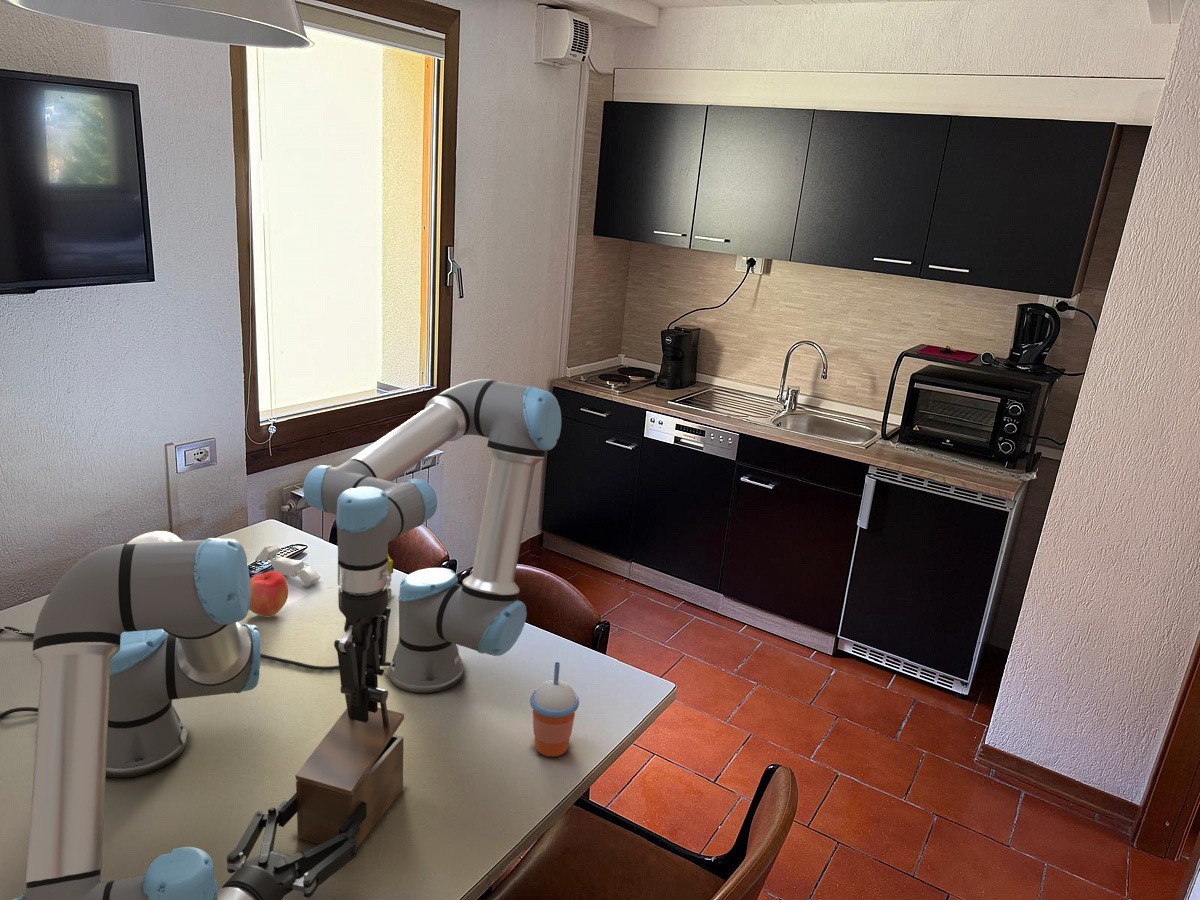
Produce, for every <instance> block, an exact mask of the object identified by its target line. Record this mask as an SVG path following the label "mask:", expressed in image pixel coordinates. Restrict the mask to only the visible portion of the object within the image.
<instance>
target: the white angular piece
mask: <svg viewBox="0 0 1200 900" xmlns="http://www.w3.org/2000/svg"><path fill="white" fill-rule="evenodd" d="M280 549H281V547H279V546H278V545H277V544H272V545H266V546H264V547H263V549H262V550H261V551H260V552H259V554H258V555H257V556H256V557H255V559H254V562H255V563H256V561H259V560H262V561H268V560H271V562H270V563H269V564H271V565H272V566H273V568H274V571H275V572H278V573H281V574H282V575H283V576H288V577H292V578H296V577H298V578H299V579H300V580H301V582H303V584H304V585H305V587H309V586H312V585H314V584H316V583H318V582H319V580H320V579H321V578H322V577H321V575H320V574H319V573H318V572H317V570H315V569H314V568H313V566H312V565H310V564H309V565H308V564H307V563H305V562H304V561H303V560H301V559H300V560H299V559H292V558H289V557H285V556H278V553H279V551H280ZM273 558H274V559H273ZM272 559H273V560H272ZM305 566H306V567H305ZM270 571H271V570H270Z"/></svg>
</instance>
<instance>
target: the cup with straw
mask: <svg viewBox="0 0 1200 900" xmlns="http://www.w3.org/2000/svg"><path fill="white" fill-rule="evenodd" d="M560 666H561V663H560V662H559V661H555V662H554V669H553V670H554V671H553V679H549V680H546V681H544V682H542V683H541V684H540V685H539V686H538V687H537V688H536V689H535V690H533V692H532V693H531V694H530V698H529V703H530V707H531V708H532V709H533V710H532V724H533V727H532V728H533V735H534V747H535V750H536V751H537V752H538V753H539V754H541V755H542V756H547V757H558V756H561V755H564V753H565V752H567V750H568V747H569V742H570V738H571V736H572V733H573V727H574V722H575V721H574V720H575V716H576V713H575V712H576V711H577V710H578V708H579V705H580V698H579V696H578V694H577V693H576V691H574V689H573V687H572V686H571V685H570V684H569V683H568V682H566V681H563V680H562V679H561V680H560V679H559V678H560Z"/></svg>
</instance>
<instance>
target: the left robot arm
mask: <svg viewBox="0 0 1200 900" xmlns="http://www.w3.org/2000/svg"><path fill="white" fill-rule="evenodd" d="M250 579H251V576H250V569H249V565H248V557H247V553H246V551H245V548H244V547H243V545H242V544H241V543H240V542H239V541H238V540H237V539H234V538H219V537H208V538H205V539H198V540H197V539H196V540H182V541H176V542H158V543H140V544H127V543H119V544H118V543H117V544H111V545H108V546H107V545H106V546H103V547H101V548H98V549H96V550H94V551H92V552H90V553H88V554H87V555H86V556H84V557H83V558H81V559H79V560H78V561H76V562H75V564H73V566H71V567H70V568H69V569H68V570H67V571H66V572H64V574H63V575H62V577H61V578H60V579H59V580H58V581H57V583H56V584H55V586H54V587H53V588H52V590H51V591H50V593H49V594H48V596H47V598H46V600H45V601H44V604H43V605H42V607H41V610H40V612H39V615H38V617H37V621H36V623H35V628H34V632H33V633H34V637H33V641H32V644H33V645H32V656H33V658H35V659H36V660H37V661H38V662H39V663H40V677H39V690H38V707H34V706H31V707H30V706H21V707H14V708H10V709H8V710H5V711H3V712H2V713H0V719H3V718H4V717H6V716H8V715H11V714H14V713H18V712H19V713H21V712H35V713H37V718H36V732H35V733H36V735H35V745H34V746H35V748H34V759H33V760H34V762H33V775H32V776H33V777H32V790H31V803H30V816H29V830H28V831H29V833H28V844H27V845H28V846H27V860H26V875H25V883H26V885H25V892H24V895H23V894H22V895H21V896H19V897H15V898H12V899H11V900H283V899H284V897H285V896H286V895H288V894H290V893H292V892H293V891H297V892H298V891H299V892H303V898H304V899H305V898H306V899H309V898H311V897H312V896H313V895H314V893H315V892H316V891H317V889H318V887H319V886H320V885H322V884H323V883H324V882H325V881H328V879H329V878H331V877H332V876H334V875H335V874H336V873H337V872H338V871H340V870H342V868H343V867H345V866H346V865H347V864H348V863H350V862H351V861H352V860H353V859H355V858H356V857H357V856H358V855H357V853H358V852H357V849H358V847H357V841H356V840H355V837H356V836H357V835H358V834H359V832H360V824H361V823H362V822H363V821H364V819H365V818H366V817H367V812H366V802H362V803H361V804H360V805H359V806H358V807H357V809H356V810H355V811H354V812H353V813H352V814H351V816H350V817H349V818H348V819H347V820H346V821H345V823H344V824H343V825H342V826H341V827H340V829H339V835H338V836H336V837H334V838H332V839H330V840H328V841H326V842H324V843H322V844H317V845H316V846H314V847H312V848H309V849H308V850H306V851H303V852H302V851H299V852H297V853H294V854H292V855H291V854H285V853H281V852H280V851H278V850H275V849H274V847H275V840H276V835H277V829H278V827H281V828H284V827H286V825H287V824H288V822H290V820H291V819H292V818H293V817H294V816H295V815H297V796H296V792H295V793H294V794H293V795H292V796H291V797H290V799H288V800H287V799H286V800H283V801H282V802H280V804H278V806H277V807H274V806H273V807H272V806H271V807H270V808H268V809H267V813H265V812H263V811H261V810H260V811H257V812H255V814H254V815H253V817H252V819H251V821H250V823H249V824H248V826H247V828H246V829H245V831H244V833H243V834H242V837H241V838H240V839H239V842H238V844H237V846H236V847H235V848H234V849H232V851H230V852H229V853H228V854H227V855H226V868H227V869H226V870H227V873H228V874H232V875H231V877H230V878H228V880H227V881H226V882H225V883H224V884H223V885H222V886H221V888H220V889H219V890H218V882H217V881H216V877H215V869H214V862H213V860H212V857H211V856H210V855H209V853H207V852H206V851H205V850H203V849H201V848H198V847H195V846H180V847H176V848H172V849H171V850H170V851H169V852H167V853H166V854H164V853H163V854H160V855H159V856H157V857H156V858H154V860H153V861H152V862H151V863H149V865H148V867H147V868H146V870H145V873H144V875H140V876H139V875H138V876H133V877H127V878H123V879H117V880H110V881H105V882H102V875H101V872H102V866H103V847H104V845H103V842H104V822H105V801H106V799H105V798H106V777H110V778H117V779H119V778H121V779H122V778H123V779H124V778H132V777H133V778H135V777H139V776H143V775H147V774H150V773H153V772H155V771H158V770H160V769H162V768H164V767H166V766H168V765H169V764H170V763H172V762H173V761H175V760H176V759H177V758H178V757H179V756H180V755H182V752H184V750H185V748H186V745H187V736H188V729H187V727H186V725H185V724H183V722H182V721H181V719H180V716H179V715H178V712H177V711H176V709H175V707H174V705H173V700H180V699H189V698H198V697H199V698H200V697H207V696H208V697H209V696H216V695H226V694H241V693H242V692H248V691H252V690H254V689H255V688H256V687H257V686H258V684H259V680H260V669H261V657H260V654H261V652H262V651H261V634H260V629H259V627H258V626H257V625H256V624H248V623H240V622H241V621H243V620H244V619H246V618H247V616H248V612H249V611H250V610H249V606H250ZM263 830H264V834H263V839H262V843H261V845H260V851H259V855H257V856H255V857H253V858H250V859H248V858H249V856H250V854H251V852H252V851H253V850H254V849H253V848H254V847H255V845H256V842H258V840H259V838H260V836H261V834H262V832H263Z"/></svg>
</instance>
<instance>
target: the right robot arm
mask: <svg viewBox="0 0 1200 900" xmlns="http://www.w3.org/2000/svg"><path fill="white" fill-rule="evenodd" d="M561 430H562V412H561V407H560V405H559V401H558V399H557V398H556V396H555V395H554V394H553V393H552V392H550V391H548V390H545V389H541V388H537V387H536V386H535V387H534V386H527V385H521V384H517V383H516V384H515V383H511V382H510V383H509V382H504V381H498V380H494V379H490V378H489V379H488V378H484V379H474V380H468V381H465V382H463V383H459V384H457V385H454V386H452V387H450V388H447V389H445V390H443V391H441V392H439V393H438V394H436V395H435V396H433V397H432V398H430V399H429V400H428V401H427V403H426V404H425V407H424V409H423V410H421V411H420V412H418V413H417V414H416V415H414V416H412V417H411V418H410V419H408V420H407V421H405V422H404V423H402V424H400V425H399V426H397V427H396V428H394V429H392V430H391V431H390V432H388V433H386V435H384V436H382V437H381V438H379V439H378V440H375V442H373V443H372V444H370V445H368V446H367V447H366V448H364V449H363V450H361V451H360V452H358V453H356V455H354V456H352V457H351V458H349V459H348V460H346V461H345V462H343V463H342V464H340V465H339V466H335V467H334V466H333V465H324V464H322V465H321V464H320V465H316V466H314V467H313V468H312V469H311V470H310V471H309V472H308V473H307V475H306V476H305V478H304V481H303V484H302V485H303V486H302V493H303V497H304V500H305V501H306V504H308V505H309V506H310V507H312V508H315V509H317V510H320V511H323V512H324V513H328V514H333V515H336V516H335V524H336V534H337V535H336V536H337V537H336V538H337V539H336V540H337V586H338V591H337V594H338V595H337V598H338V610H339V612H340V613H341V614H342V615H343V616H344V618H345V623H344V627H343V631H344V634H343V636H342V638H341V639H339V638H336V639H335V640H334V642H333V646H334V649H335V650H336V653H337V660H338V665H329V666H323V665H312V664H308V663H303V662H299V661H295V660H290V659H286V658H282V657H277V656H272V655H267V654H263V653H260V659H261V658H262V659H265V660H270V661H275V662H279V663H284V664H286V665H287V664H288V665H292V666H297V667H301V668H305V669H309V670H318V671H334V670H338V671H339V679H340V689H341V688H342V689H345V690H348V691H351V719H353V720H357V721H361V722H365V723H366V722H367V721H368V720H369V715H368V711H369V712H373V713H376V712H377V711H378V707H379V703H378V702H374V701H370V700H368V686H372V687H376V688H379V687H378V686H379V683H378V680H379V679H378V676H383V675H384V674H385V669H383V668H381V667H389V679H390V681H391V682H392V683H393V684H394V685H395V686H396V687H398V688H399V689H401V690H404V691H407V692H410V693H416V694H430V693H431V694H432V693H438V692H441V691H445V690H447V689H450V688H451V687H453V686H455V685H456V684H457V683H458V682H459V681H460V680H461V679H462V676H463V672H464V664H463V660H462V657H461V656H460V653H459V649H458V646H461V647H464V648H467V649H469V650H473V651H475V652H478V653H479V654H485V655H490V656H494V657H500V656H503V655H505V654H506V653H508V652H509V651H510V650H511V649H512V648H513V647H514V645H515V644H516V643H517V641H518V640H519V638H520V636H521V634H522V631H523V629H524V628H525V624H526V621H527V615H528V614H527V613H528V611H527V606H526V604H525V603H524V602H523V601H521V600H519V597H520V591H521V590H520V588H519V586H518V585H517V583H516V581H515V577H516V572H517V566H518V560H519V556H520V555H519V554H520V550H521V544H522V538H523V534H524V527H525V522H526V517H527V511H528V507H529V501H530V495H531V490H532V484H533V479H534V473H535V469H536V465H537V464H538V463H539V462H541V461H542V460H544V459H545V455H546V451H551V450H552V449H553V448H555V447H556V445H557V444H558V440H559V439H560V435H561ZM465 436H479V437H483V438H486V439H487V438H488V439H487V447H486V449H487V450H488V451H489V453H490V455H491V457H492V459H491V460H492V461H491V465H490V472H489V477H488V483H487V486H486V487H487V488H486V493H485V500H484V504H483V509H482V514H481V515H482V516H481V520H480V527H479V531H478V538H477V541H476V542H477V543H476V548H475V554H474V560H473V565H472V571H471V573H470V574H469V575H468V576H466V577H465V578H464V579H463V580H462V584H459V583H458V580H459V579H458V575H457V574H456V572H455V571H454V570H452V569H450V568H445V567H428V568H423V569H418V570H416V571H413V572H410V573H409V574H407V575H406V576H404V577H403V579H402V580H401V581H400V584H399V594H398V597H397V598H398V643H397V645H396V648H395V651H394V653H393V656H392V659H391V660H390V662H389V661H388V662H386V661H387V649H388V633H389V621H390V617H391V613H392V608H391V607H388V606H389V599H388V588H389V587H388V586H387V582H388V575H389V572H388V562H387V561H388V555H389V542H391V541H393V540H395V539H396V538H399V536H402V535H403V534H405V533H408V532H409V531H412V530H413V529H416V528H418V527H420V526H422V525H423V524H424V523H425V522H427V521H428V520H431V518H432V517H433V516H434V515H435V513H436V511H437V508H438V497H437V494H436V491H435V489H434V488H433V487H432V485H430V483H429V482H427V481H426V480H424V479H422V478H411V479H405V480H404V481H401V482H394V481H396V480H397V479H399V477H401V476H402V475H404V474H405V473H406V472H408V471H409V470H410V469H412V468H413V467H415V465H417V464H418V463H420V462H421V461H423V460H424V459H425V458H426V457H428V456H429V455H431V454H432V453H433V452H434V451H436V450H437V449H438V448H440V447H442V446H443V445H444V444H446V443H447V442H456V441H459V439H461V438H462V437H465ZM3 627H4V628H5V629H9V630H8V631H10V630H13V631H12V632H14V631H18V632H19V631H21V632H22V631H23V630H21V629H18V628H16V627H12V626H9V625H8V626H6V625H5V626H3ZM1 628H2V627H0V633H3V632H4V631H5V630H4V629H1ZM18 632H14V633H15V634H19V635H22V636H25V637H32V638H34V632H28V631H26V632H27V633H18Z"/></svg>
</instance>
